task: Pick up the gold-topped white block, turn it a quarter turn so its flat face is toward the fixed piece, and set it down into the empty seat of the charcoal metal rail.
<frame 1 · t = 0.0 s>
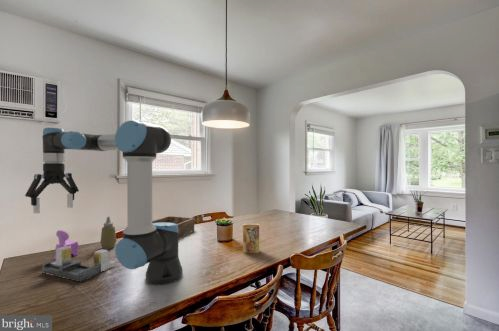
hand: (54, 210, 108), 28 cm above the table, fingers open, 13 cm apart
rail: (70, 273, 106), on the table
candy box: (251, 252, 133), on the table
squeeze bottle: (108, 248, 139), on the table
toy chair: (66, 257, 125), on the table
gold-topped white block: (105, 268, 112), on the table
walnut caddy: (167, 234, 164), on the table
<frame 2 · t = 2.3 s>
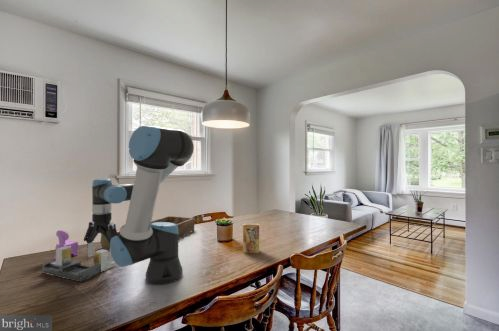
hand: (101, 258, 110), 5 cm above the table, fingers open, 13 cm apart
nothing on the table moved.
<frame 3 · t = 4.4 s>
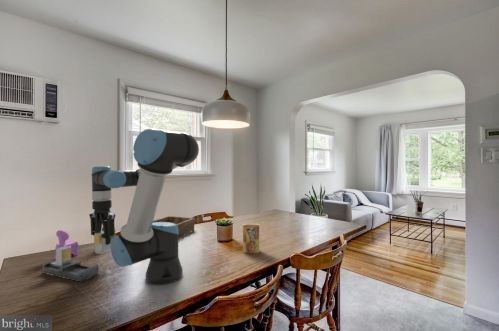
hand: (102, 250, 110), 9 cm above the table, fingers closed on gold-topped white block, 4 cm apart
gold-topped white block: (105, 250, 111), point 8 cm above the table, touching gripper
everything else where it was.
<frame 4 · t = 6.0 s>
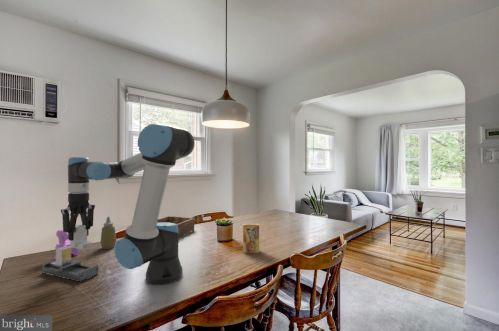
hand: (78, 245, 105), 13 cm above the table, fingers closed on gold-topped white block, 4 cm apart
gold-topped white block: (81, 246, 105), point 13 cm above the table, touching gripper
everything else where it was.
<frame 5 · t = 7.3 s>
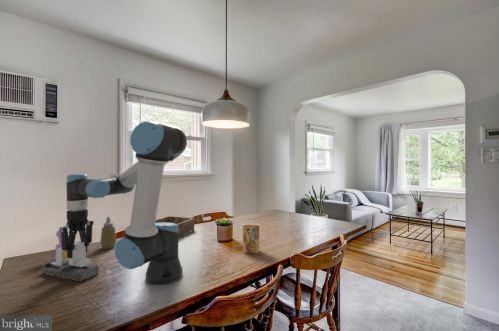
hand: (77, 262, 105), 6 cm above the table, fingers closed on gold-topped white block, 4 cm apart
gold-topped white block: (80, 264, 104), point 5 cm above the table, touching gripper
everything else where it was.
when the fingers open (3 cm above the table, at t = 8.0 s): gold-topped white block stays where it is, resting on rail.
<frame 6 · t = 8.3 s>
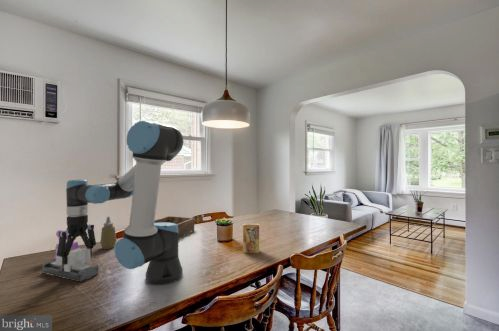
hand: (77, 266, 105), 4 cm above the table, fingers open, 8 cm apart
gold-topped white block: (80, 271, 104), point 2 cm above the table, touching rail
everything else where it was.
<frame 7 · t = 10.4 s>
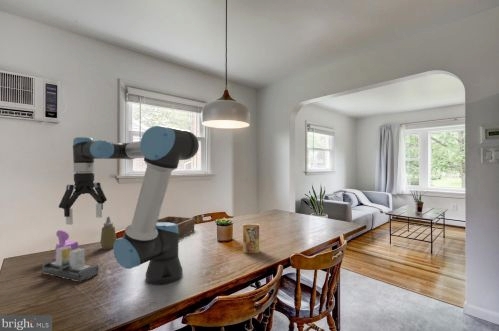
hand: (85, 220, 106), 24 cm above the table, fingers open, 13 cm apart
nothing on the table moved.
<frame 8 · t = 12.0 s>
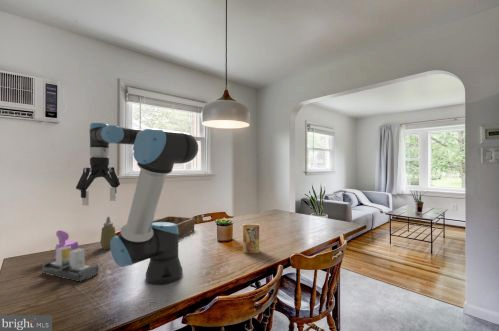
hand: (99, 202, 111), 31 cm above the table, fingers open, 13 cm apart
nothing on the table moved.
at the end: gold-topped white block 0.3 cm from the target spot on the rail, point 2.0 cm above the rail's base; gold-topped white block tilted 0°; the gripper is holding nothing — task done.
